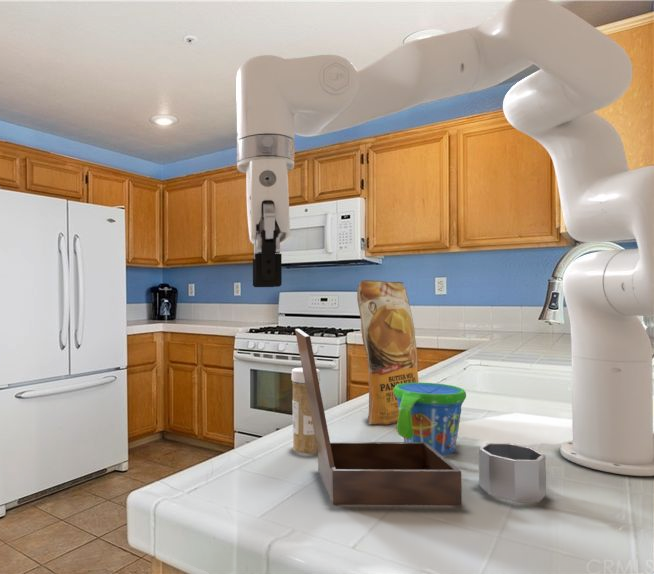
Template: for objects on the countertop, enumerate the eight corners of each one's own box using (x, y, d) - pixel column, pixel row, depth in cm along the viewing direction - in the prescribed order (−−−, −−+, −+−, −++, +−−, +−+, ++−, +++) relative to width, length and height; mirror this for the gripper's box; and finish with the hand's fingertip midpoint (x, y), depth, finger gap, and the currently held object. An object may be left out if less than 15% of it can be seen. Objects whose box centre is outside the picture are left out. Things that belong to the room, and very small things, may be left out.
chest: (426, 474, 69) (426, 442, 69) (462, 510, 58) (461, 471, 58) (318, 474, 70) (317, 441, 70) (332, 509, 59) (332, 470, 59)
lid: (299, 328, 70) (294, 329, 70) (310, 336, 59) (305, 336, 59) (319, 439, 70) (315, 439, 70) (334, 467, 59) (329, 468, 59)
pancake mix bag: (347, 421, 97) (345, 280, 97) (405, 407, 108) (403, 280, 108) (374, 429, 92) (373, 279, 92) (433, 413, 103) (431, 279, 103)
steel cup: (524, 484, 66) (523, 443, 66) (556, 507, 59) (555, 461, 59) (472, 483, 66) (471, 442, 66) (498, 506, 59) (497, 460, 59)
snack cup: (429, 434, 88) (428, 377, 88) (488, 449, 79) (487, 387, 80) (371, 450, 80) (370, 388, 80) (429, 470, 71) (429, 399, 71)
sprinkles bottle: (317, 458, 76) (317, 371, 76) (289, 455, 78) (288, 370, 78) (323, 449, 81) (322, 367, 81) (295, 446, 82) (295, 366, 82)
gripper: (302, 136, 56) (303, 286, 56) (287, 172, 73) (288, 287, 73) (236, 137, 56) (237, 286, 56) (237, 173, 73) (237, 287, 73)
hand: (266, 286), depth 65 cm, fingers open, 9 cm apart
